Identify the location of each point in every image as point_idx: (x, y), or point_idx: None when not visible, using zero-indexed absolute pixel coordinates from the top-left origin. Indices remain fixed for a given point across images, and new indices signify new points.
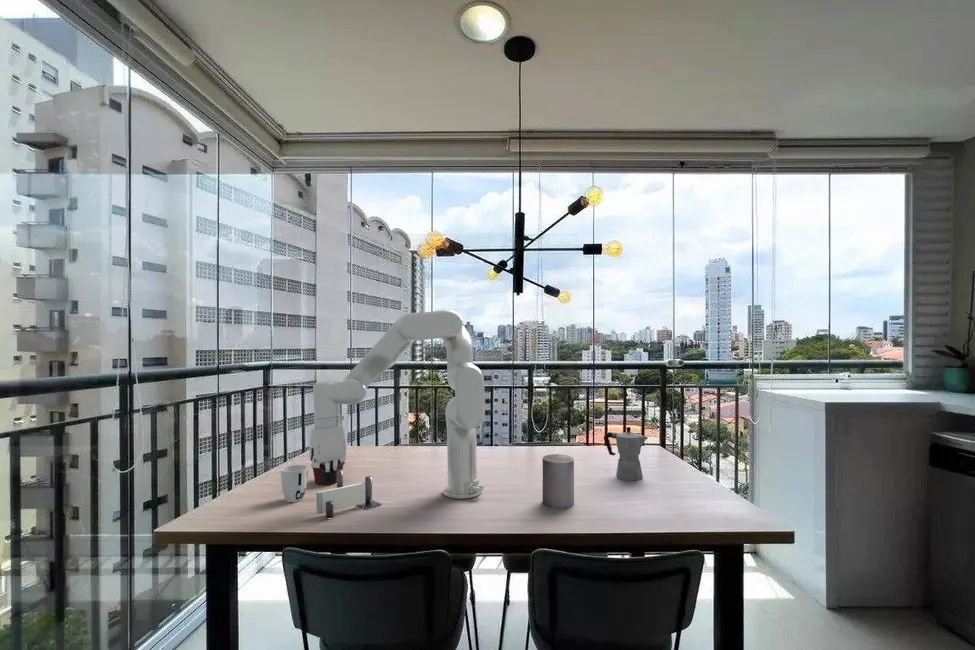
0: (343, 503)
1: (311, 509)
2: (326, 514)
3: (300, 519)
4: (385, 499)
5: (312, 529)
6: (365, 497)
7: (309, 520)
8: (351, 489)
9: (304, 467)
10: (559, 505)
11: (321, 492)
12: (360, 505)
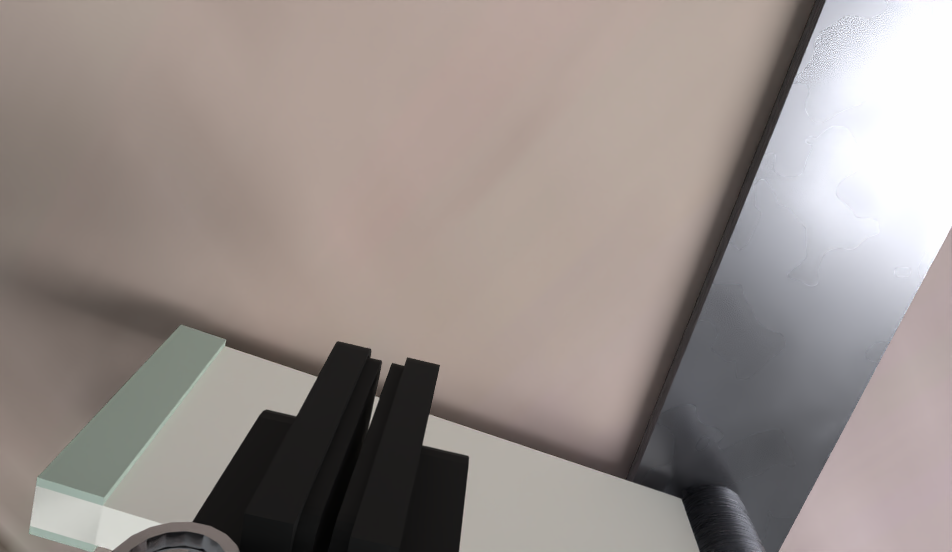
0: None
1: (301, 66)
2: None
3: (46, 222)
4: (920, 525)
5: (11, 493)
6: (699, 550)
7: (97, 321)
8: None
9: None
10: None
11: (78, 547)
12: (632, 477)
